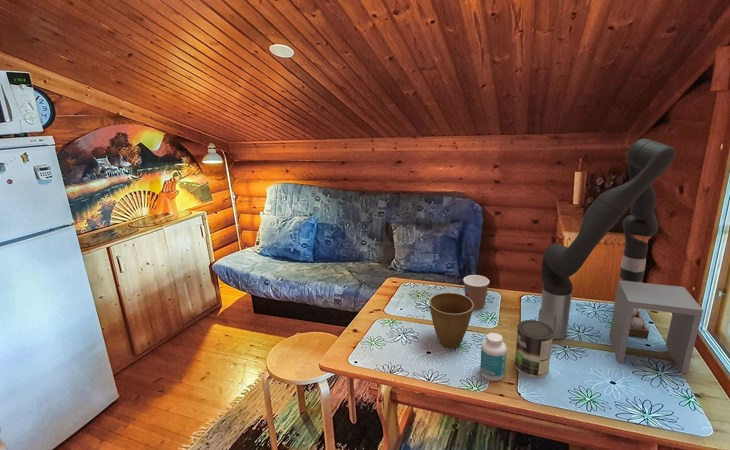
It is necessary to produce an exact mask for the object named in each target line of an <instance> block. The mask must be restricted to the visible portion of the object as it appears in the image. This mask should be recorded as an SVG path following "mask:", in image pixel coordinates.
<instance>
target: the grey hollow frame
mask: <svg viewBox="0 0 730 450" xmlns="http://www.w3.org/2000/svg"><path fill="white" fill-rule="evenodd" d="M613 304H614V305H613V311H612V312H613V313H612V317H611V322H610V323H611V324H610V328H609V329H610V330H609V335H608V337H609V341H610V345H611V346H612V349H614V350H613V352H615V353H614V355H615V359H616V361H617V363H618V362H619V364H624V362H625V355H626V351H627V346H628V341H629V336H628V335H629V330H630V325H631V319H632V314H633V308H637V309H640V310H648V311H657V312H665V313H671V317H670V318H671V319H670V324H669V329H668V332H667V336H666V342H665V347H666V349H667V351H668V352H669V354H670V356H671V357H672V360H673V361H674V362H675V365H676V367H677V368H678V371H679V372H680V374H683V375H688V373H689V369H690V365H691V360H692V357H693V352H694V349H695V344H696V340H697V335H698V332H699V328H700V324H701V321H702V316H703V312H704V311H703V310H704V309H703V308H702V307H701V306H700V305H699V303H698V302H697V300H696V299H695V298H694V297H693V296H692V295H691V294H690V292H689V291H688V290H687V289H686V288H685V287H684V286H679V285H677V286H676V285H668V284H657V283H648V282H647V283H646V282H641V281H640V282H630V281H622V279H619V280H617V286H616V293H615V299H614V303H613Z"/></svg>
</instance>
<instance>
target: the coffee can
mask: <svg viewBox="0 0 730 450" xmlns="http://www.w3.org/2000/svg"><path fill="white" fill-rule="evenodd" d="M516 330H517V333H516V343H515V344H516V345H515V354H514V355H515V357H514V367H515V368H516V370H517V371H518V372H519V373H521V374H523V375H524V376H526V377H527V376H528V377H530V378H543V377H546V376H547V375H548V374H549V372H550V361H551V354H552V347H553V346H552V345H553V340H552V338H553V334H554V331H553V329H552V328H551V327H550V326H549V325H547V324H545V323H543V322H540V321H538V320H534V319H526V320H525V319H524V320H522V321H520V322H518V323H517V329H516Z"/></svg>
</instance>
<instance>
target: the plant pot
mask: <svg viewBox="0 0 730 450" xmlns="http://www.w3.org/2000/svg"><path fill="white" fill-rule="evenodd" d="M429 310H430V316H431V320H432V324H433V329H434V331H435V335H436V337H437V339H438V343H439V344H440V345H441V346H443V347H445V348H448V349H454V348H457V347H460V345H461V343H462V341H463V339H464V336H465V335H466V332H467V330H468V327H469V324H470V323H471V322H470V321H471V319H472V318H471V317H472V313H473V311H474V310H473V302H472V301H471V299H469V298H468V297H466V296H465V294H460V293H455V292H441V293H436V294H435V295H433V296H431V297H430V299H429Z"/></svg>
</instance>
